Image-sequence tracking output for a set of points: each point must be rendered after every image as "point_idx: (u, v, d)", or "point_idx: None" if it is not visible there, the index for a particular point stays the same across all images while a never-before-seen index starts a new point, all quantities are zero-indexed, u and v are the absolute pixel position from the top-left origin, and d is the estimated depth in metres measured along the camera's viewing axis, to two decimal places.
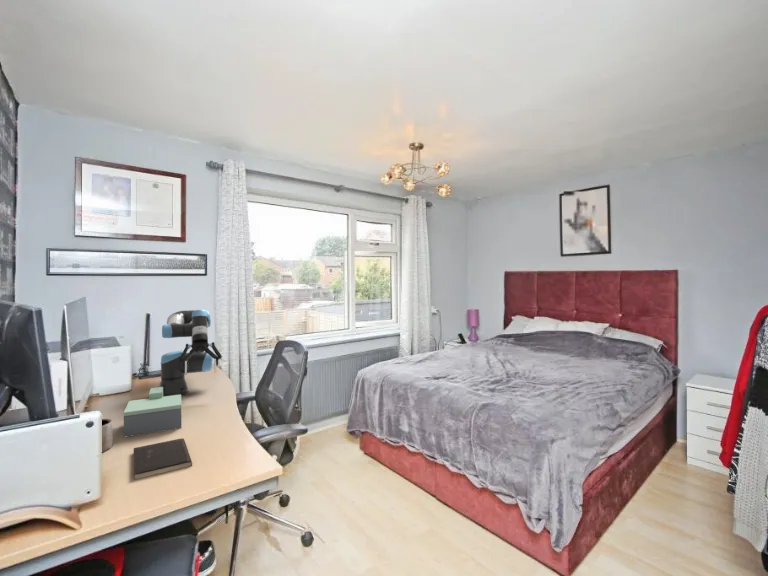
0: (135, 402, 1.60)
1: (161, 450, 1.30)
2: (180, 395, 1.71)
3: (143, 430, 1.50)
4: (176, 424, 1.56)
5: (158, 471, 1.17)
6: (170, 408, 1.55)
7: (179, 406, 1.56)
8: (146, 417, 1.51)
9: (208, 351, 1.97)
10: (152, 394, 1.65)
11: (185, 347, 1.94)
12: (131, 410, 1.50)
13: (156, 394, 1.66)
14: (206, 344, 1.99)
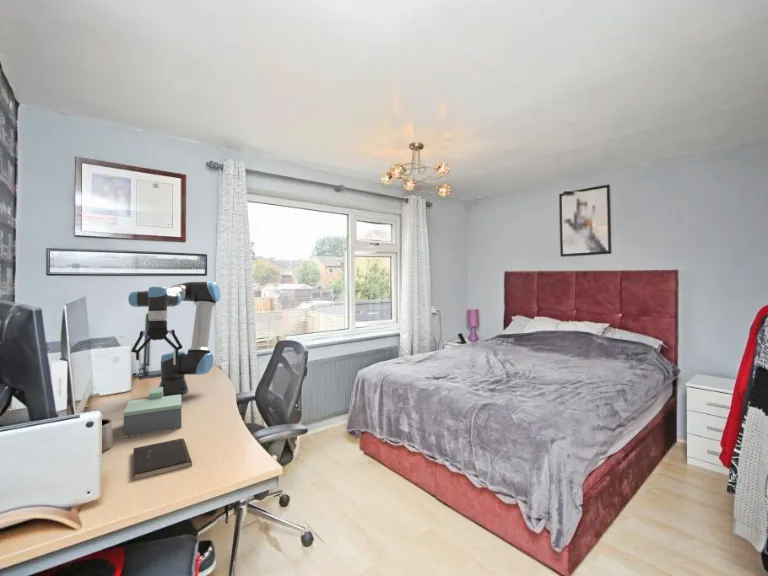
0: (135, 402, 1.60)
1: (161, 450, 1.30)
2: (180, 395, 1.71)
3: (143, 430, 1.50)
4: (176, 424, 1.56)
5: (158, 471, 1.17)
6: (170, 408, 1.55)
7: (179, 406, 1.56)
8: (146, 417, 1.51)
9: (167, 341, 1.73)
10: (152, 394, 1.65)
11: (139, 336, 1.68)
12: (131, 410, 1.50)
13: (156, 394, 1.66)
14: (165, 332, 1.73)
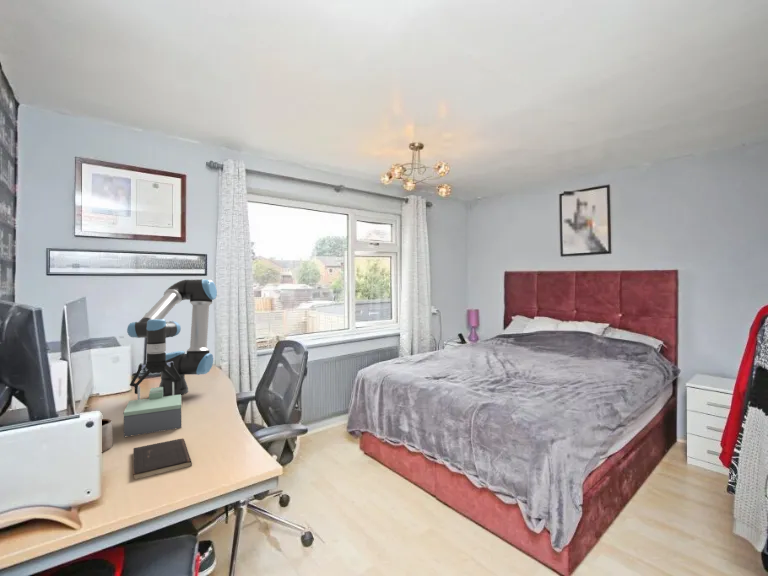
0: (135, 402, 1.60)
1: (161, 450, 1.30)
2: (180, 395, 1.71)
3: (143, 430, 1.50)
4: (176, 424, 1.56)
5: (158, 471, 1.17)
6: (170, 408, 1.55)
7: (179, 406, 1.56)
8: (146, 417, 1.51)
9: (165, 374, 1.73)
10: (152, 394, 1.65)
11: (138, 369, 1.68)
12: (131, 410, 1.50)
13: (156, 394, 1.66)
14: (163, 365, 1.73)
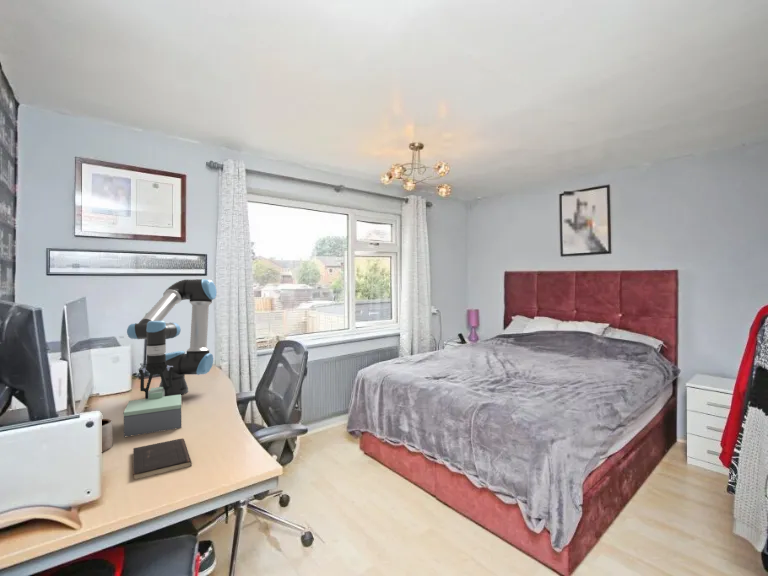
0: (135, 402, 1.60)
1: (161, 450, 1.30)
2: (180, 395, 1.71)
3: (143, 430, 1.50)
4: (176, 424, 1.56)
5: (158, 471, 1.17)
6: (170, 408, 1.55)
7: (179, 406, 1.56)
8: (146, 417, 1.51)
9: (161, 377, 1.72)
10: (152, 394, 1.65)
11: (140, 374, 1.68)
12: (131, 410, 1.50)
13: (156, 394, 1.66)
14: (163, 366, 1.73)
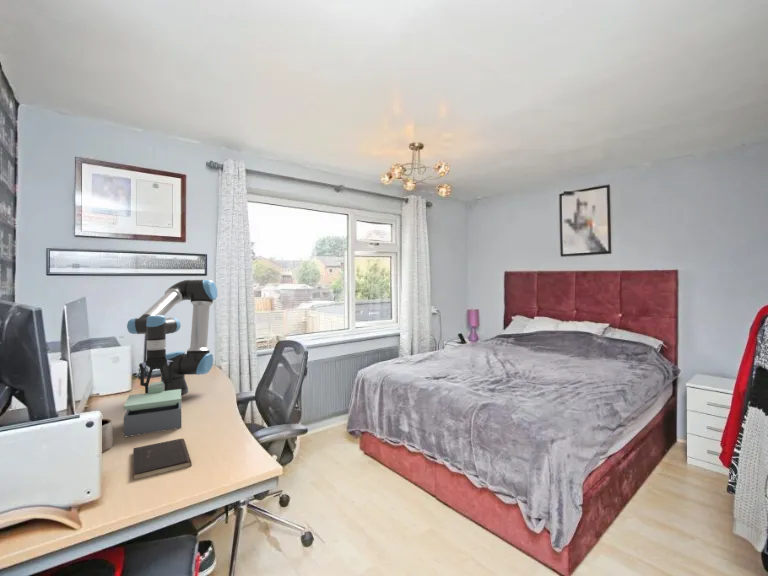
0: (135, 396, 1.60)
1: (161, 450, 1.30)
2: (180, 390, 1.71)
3: (143, 430, 1.50)
4: (176, 424, 1.56)
5: (157, 471, 1.17)
6: (170, 402, 1.55)
7: (179, 400, 1.56)
8: (146, 417, 1.51)
9: (161, 372, 1.72)
10: (152, 388, 1.65)
11: None
12: (131, 404, 1.50)
13: (156, 388, 1.66)
14: (163, 361, 1.73)
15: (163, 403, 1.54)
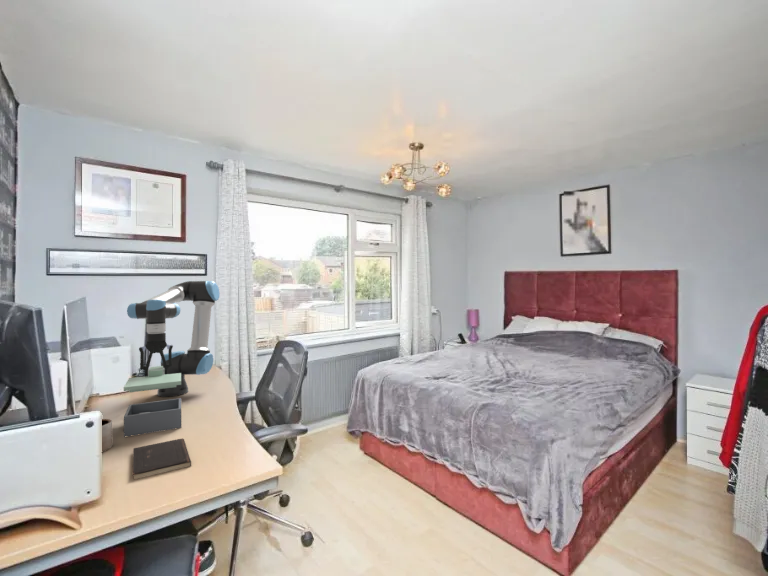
0: (135, 379, 1.60)
1: (161, 450, 1.30)
2: (180, 373, 1.71)
3: (143, 430, 1.50)
4: (176, 424, 1.56)
5: (157, 471, 1.17)
6: (170, 384, 1.55)
7: (179, 382, 1.56)
8: (146, 417, 1.51)
9: (161, 356, 1.72)
10: (152, 372, 1.65)
11: (140, 352, 1.68)
12: (131, 385, 1.50)
13: (156, 372, 1.66)
14: (163, 345, 1.73)
15: (163, 385, 1.54)
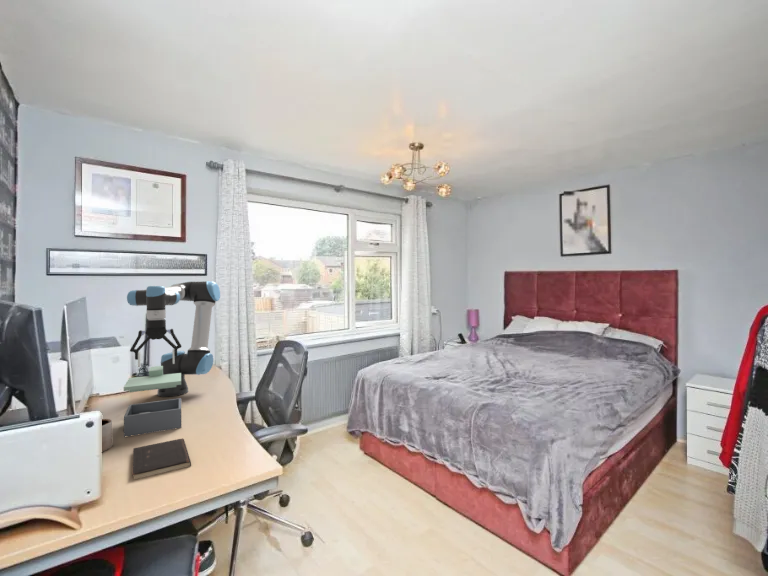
0: (135, 379, 1.60)
1: (161, 450, 1.30)
2: (180, 373, 1.71)
3: (143, 430, 1.50)
4: (176, 424, 1.56)
5: (157, 471, 1.17)
6: (170, 384, 1.55)
7: (179, 382, 1.56)
8: (146, 417, 1.51)
9: (165, 340, 1.73)
10: (152, 372, 1.65)
11: (138, 335, 1.68)
12: (131, 385, 1.50)
13: (156, 372, 1.66)
14: (163, 331, 1.73)
15: (163, 385, 1.54)
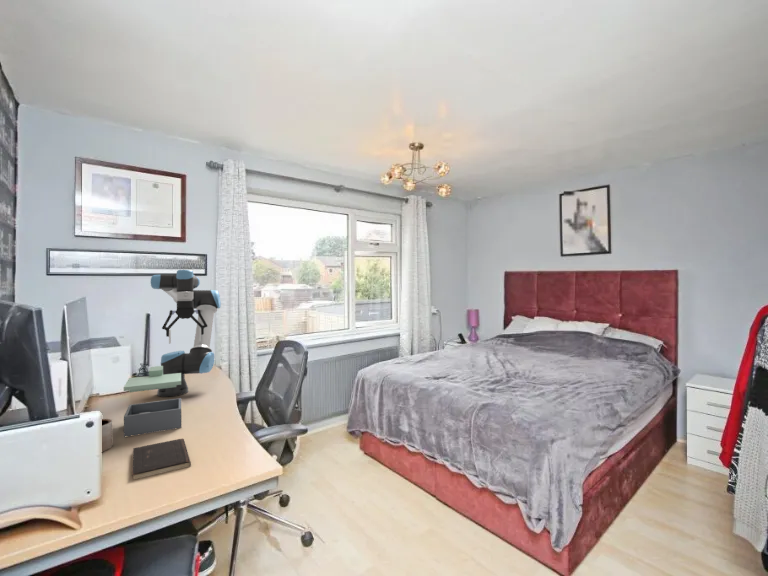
0: (135, 379, 1.60)
1: (161, 450, 1.30)
2: (180, 373, 1.71)
3: (143, 430, 1.50)
4: (176, 424, 1.56)
5: (157, 471, 1.17)
6: (170, 384, 1.55)
7: (179, 382, 1.56)
8: (146, 417, 1.51)
9: None
10: (152, 372, 1.65)
11: (169, 314, 1.84)
12: (131, 385, 1.50)
13: (156, 372, 1.66)
14: (191, 311, 1.89)
15: (163, 385, 1.54)
